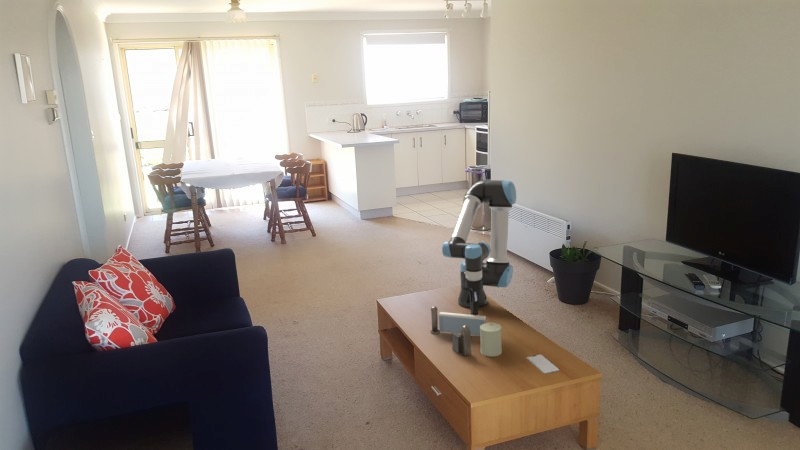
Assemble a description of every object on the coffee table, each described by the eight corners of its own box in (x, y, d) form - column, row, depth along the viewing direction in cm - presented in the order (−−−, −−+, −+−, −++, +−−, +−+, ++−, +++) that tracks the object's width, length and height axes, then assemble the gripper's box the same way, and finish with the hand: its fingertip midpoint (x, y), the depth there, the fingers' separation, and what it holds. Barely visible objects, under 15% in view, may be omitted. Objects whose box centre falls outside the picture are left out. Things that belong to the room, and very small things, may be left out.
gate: (439, 331, 270) (438, 313, 267) (440, 329, 272) (440, 311, 269) (485, 336, 262) (484, 317, 260) (486, 334, 264) (485, 316, 262)
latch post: (461, 347, 255) (460, 319, 252) (471, 354, 248) (471, 326, 245) (452, 349, 253) (451, 322, 250) (462, 357, 246) (461, 328, 243)
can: (501, 347, 253) (501, 321, 250) (502, 356, 244) (501, 330, 241) (480, 346, 254) (479, 321, 252) (480, 356, 246) (479, 330, 243)
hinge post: (436, 329, 275) (435, 304, 271) (441, 332, 271) (440, 306, 268) (428, 331, 273) (427, 306, 270) (433, 334, 269) (432, 309, 266)
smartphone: (544, 373, 228) (525, 357, 242) (544, 375, 228) (525, 358, 242) (560, 370, 230) (541, 353, 244) (560, 371, 230) (541, 355, 244)
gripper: (463, 274, 269) (464, 321, 275) (467, 283, 257) (468, 332, 262) (479, 273, 270) (480, 320, 275) (484, 282, 257) (484, 332, 262)
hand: (474, 326), depth 269 cm, fingers closed
